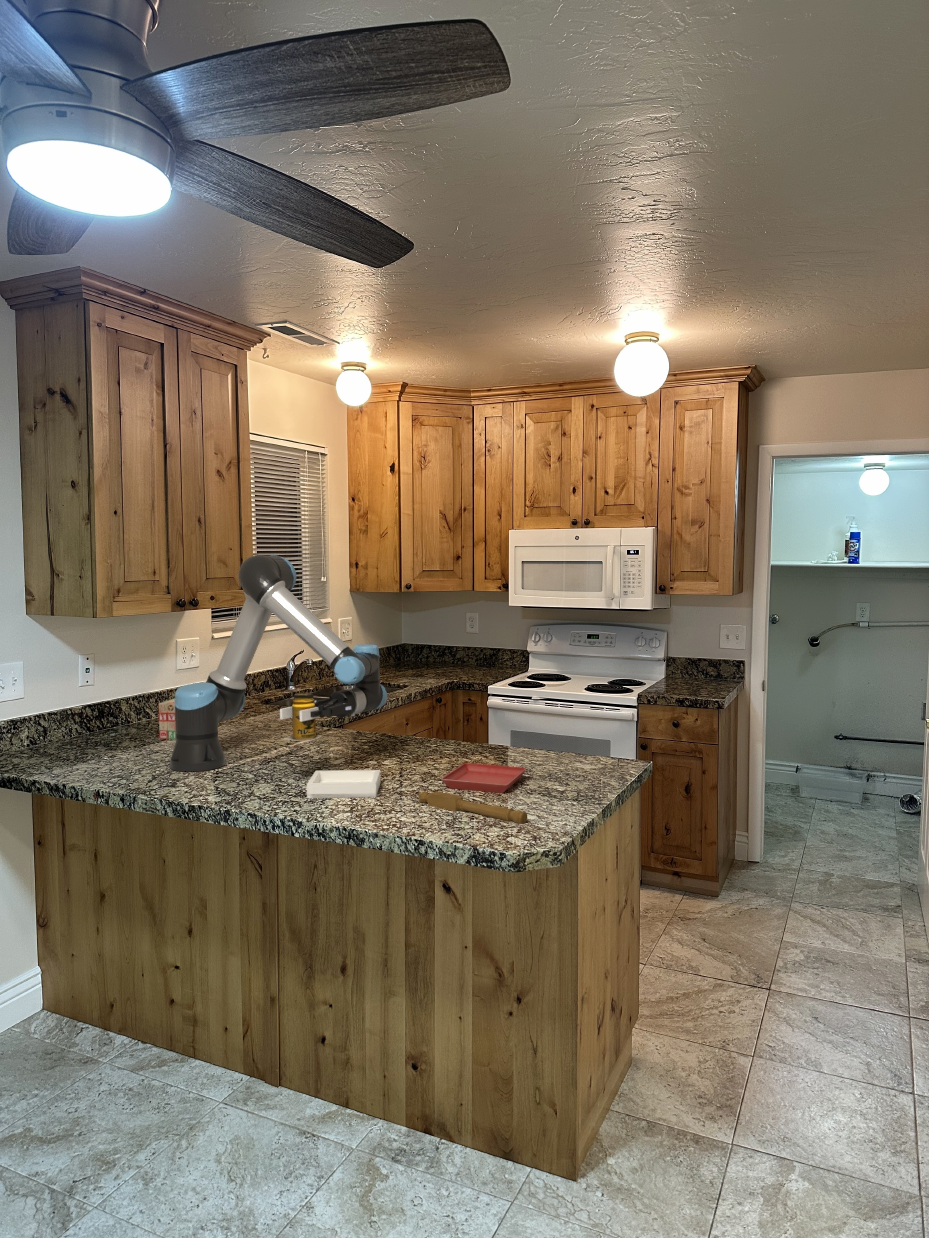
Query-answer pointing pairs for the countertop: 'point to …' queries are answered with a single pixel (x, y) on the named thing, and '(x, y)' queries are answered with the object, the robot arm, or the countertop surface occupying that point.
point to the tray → (344, 784)
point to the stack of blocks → (167, 720)
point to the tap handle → (471, 806)
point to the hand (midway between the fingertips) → (291, 715)
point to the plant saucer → (483, 777)
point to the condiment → (302, 728)
